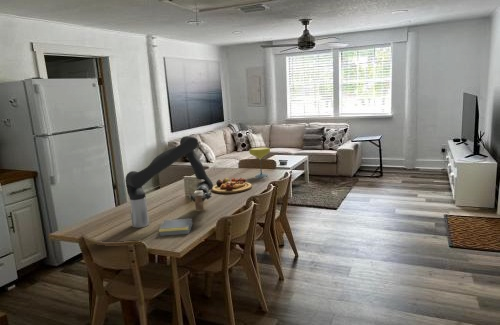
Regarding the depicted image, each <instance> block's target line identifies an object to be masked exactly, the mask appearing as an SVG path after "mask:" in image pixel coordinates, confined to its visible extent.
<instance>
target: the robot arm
mask: <svg viewBox="0 0 500 325" xmlns="http://www.w3.org/2000/svg"><path fill="white" fill-rule="evenodd" d="M198 146H199V140H198V139H197V137H194V136H192V135H191V136H190V135H188V136H183V137H181V139H180V140H179V144H178V145H176V146H174V147H173V148H169V149H167V150H164V151H162V152H161V153H160V154H158V155H157V156H155V158H153V159H152V161H151V162H150V163H149V164H148V166H146V167H145V168H143V169H141V170H139V171H135V170H132V171H129V172H128V173H127V174H126V176H125V186H126V191H127V194H128V199H129V204H130V210H131V211H130V220H131V227H132V228H137V229H138V228H144V227H147V226H149V225H150V219H149V213H148V211H149V210H148V204H147V203H148V202H147V199H146V198H147V197H146V192H145V191H144V189H143V186H144V185H146V184H147V183H148V182H149V181H150V180H151V179H152V178H153V179H154V177H155V176H157V175H158V174H160V173H161V172H162V171H163V172H164V170H166V169H167V168H169V167H171V165H173V164H175V163H176V162H177V161H178V160H180V159H181V158H182V157H186V158H187V160H188V162H189V164H190V166H191V168H192V171H193V172H194V173H193V174H194V176H195V178H196V180H203V181H200V182H198V183H197V184H196V186H197V187H196V190H195V191H198V190H203V197H202V201H206V200H210V199H211V198H212V192H209V191H212V188H213V186H214V183H213V182H212V180H211V179H210V178H209V176H208V175H207V173H206V171H205V167H204V165H203V163H202V162H201V160H200V159H199V157H198V156H197V154H196V153H195V150H196V149H197V148H198ZM189 200H191V201H192V202H194V203H195V196H194V194H192V193H189Z"/></svg>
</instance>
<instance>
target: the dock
mask: <svg viewBox="0 0 500 325" xmlns="http://www.w3.org/2000/svg"><path fill="white" fill-rule="evenodd" d="M192 227H193V219H192V218H181V219H167V220H164V221H163V222H162V224H161V225H160V227H159V228H158V229H159V230H158V232H159V236H161V237H163V236H176V235H178V236H179V235H189V234H190V232H191V230H192Z"/></svg>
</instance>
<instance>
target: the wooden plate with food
mask: <svg viewBox="0 0 500 325" xmlns="http://www.w3.org/2000/svg"><path fill="white" fill-rule="evenodd" d="M252 186H253V185H252V184H251V183H250V182H247V181H246V178H245V177H244V178H242V177H240V178H239V179H238V178H235V177H233V178H231V180H230V178H228V177H225V178H224V179H220V178H219V179H217V181H216V184H215V185H213V188H212V189H211V191H212V192H213V193H218V194H236V193H242V192H246V191H248V190H251V189H252Z"/></svg>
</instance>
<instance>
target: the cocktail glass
mask: <svg viewBox="0 0 500 325" xmlns="http://www.w3.org/2000/svg"><path fill="white" fill-rule="evenodd" d="M270 151H271V148H270V147H269V146H255V147H250V148H249V150H248V152H249V154H250V155H251V156H253V157H256V158H257V159H258V160H259V166H260V173H259V174H256V175H255V176H254V177H255V178H266V177H267V176H269V175H268V174H266V173H264V174H263V172H262V161H261V160H262V158H264V157H265V156H267V155H269V153H270Z"/></svg>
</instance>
